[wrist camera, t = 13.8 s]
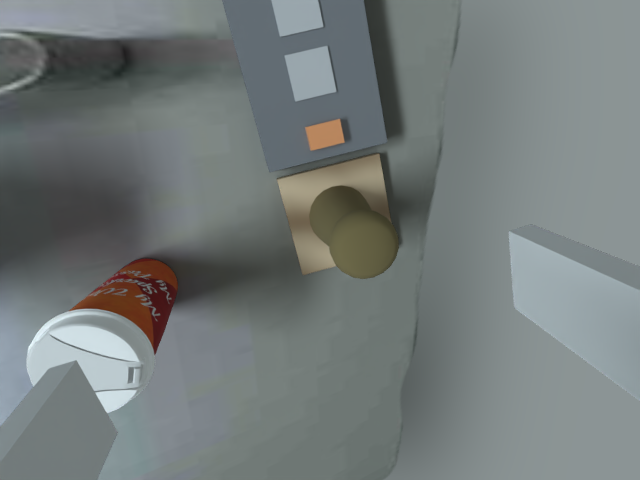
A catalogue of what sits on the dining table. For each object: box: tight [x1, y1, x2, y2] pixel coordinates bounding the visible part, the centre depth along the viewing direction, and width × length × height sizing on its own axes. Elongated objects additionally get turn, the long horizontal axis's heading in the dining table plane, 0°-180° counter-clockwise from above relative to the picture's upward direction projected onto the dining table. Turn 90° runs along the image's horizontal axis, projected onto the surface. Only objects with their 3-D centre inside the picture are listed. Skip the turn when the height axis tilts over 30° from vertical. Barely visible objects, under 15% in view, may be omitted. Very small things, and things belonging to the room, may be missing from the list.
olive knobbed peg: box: [309, 185, 399, 279], centre depth 32 cm, size 6×6×11 cm
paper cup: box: [27, 259, 178, 413], centre depth 30 cm, size 8×8×14 cm
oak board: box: [277, 153, 391, 275], centre depth 37 cm, size 10×10×1 cm
